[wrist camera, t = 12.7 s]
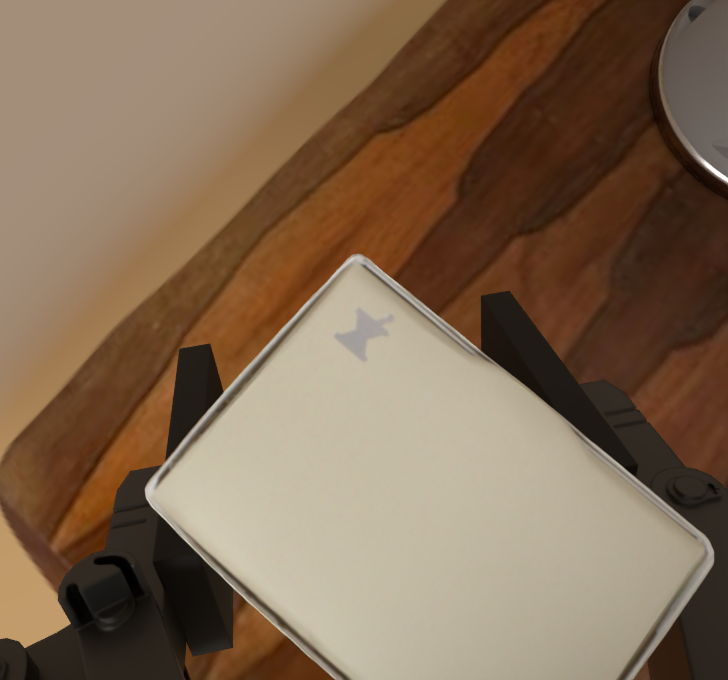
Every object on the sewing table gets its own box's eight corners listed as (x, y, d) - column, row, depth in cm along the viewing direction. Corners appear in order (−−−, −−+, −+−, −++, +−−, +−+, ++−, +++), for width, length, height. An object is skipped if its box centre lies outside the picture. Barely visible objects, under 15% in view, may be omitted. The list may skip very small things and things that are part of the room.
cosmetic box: (243, 482, 20) (105, 480, 8) (337, 374, 21) (339, 225, 9) (408, 628, 19) (525, 863, 7) (499, 510, 20) (737, 550, 8)
